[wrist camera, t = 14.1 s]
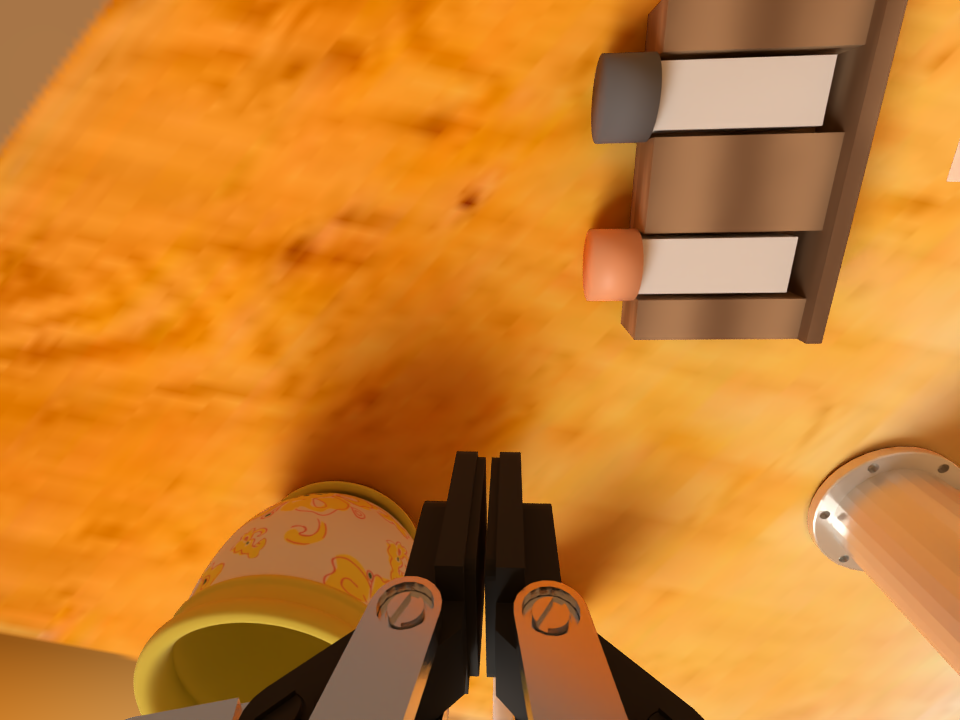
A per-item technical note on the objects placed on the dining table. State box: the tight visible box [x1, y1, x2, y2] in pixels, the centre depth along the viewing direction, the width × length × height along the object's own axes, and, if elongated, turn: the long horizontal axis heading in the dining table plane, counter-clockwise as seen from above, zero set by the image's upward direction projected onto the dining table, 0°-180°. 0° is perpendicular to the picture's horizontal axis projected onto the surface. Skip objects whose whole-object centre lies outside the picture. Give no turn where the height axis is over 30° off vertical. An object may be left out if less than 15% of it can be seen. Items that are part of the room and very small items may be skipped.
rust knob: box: [583, 228, 798, 301], centre depth 32 cm, size 13×5×5 cm, turn 91°
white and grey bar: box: [591, 52, 837, 144], centre depth 28 cm, size 13×5×5 cm, turn 91°
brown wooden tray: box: [621, 0, 908, 344], centre depth 31 cm, size 12×20×5 cm, turn 1°
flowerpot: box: [134, 481, 416, 715], centre depth 38 cm, size 18×18×16 cm
